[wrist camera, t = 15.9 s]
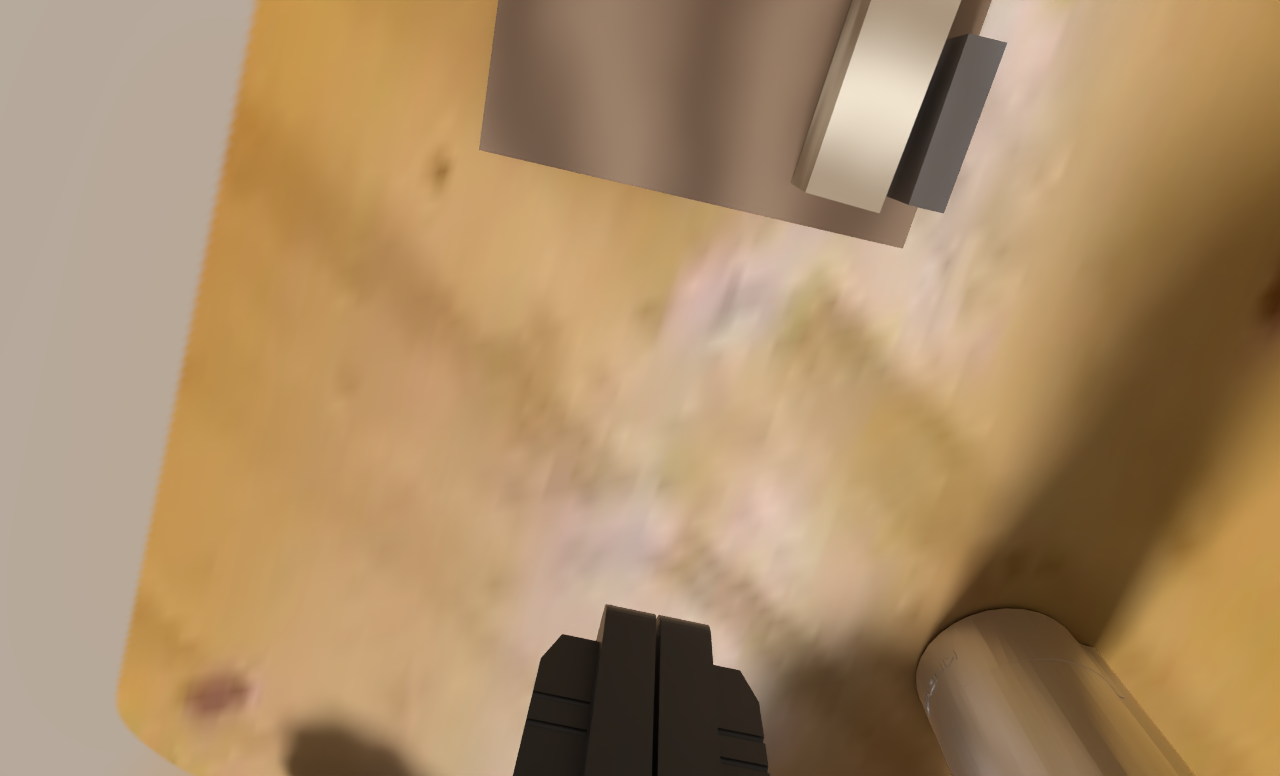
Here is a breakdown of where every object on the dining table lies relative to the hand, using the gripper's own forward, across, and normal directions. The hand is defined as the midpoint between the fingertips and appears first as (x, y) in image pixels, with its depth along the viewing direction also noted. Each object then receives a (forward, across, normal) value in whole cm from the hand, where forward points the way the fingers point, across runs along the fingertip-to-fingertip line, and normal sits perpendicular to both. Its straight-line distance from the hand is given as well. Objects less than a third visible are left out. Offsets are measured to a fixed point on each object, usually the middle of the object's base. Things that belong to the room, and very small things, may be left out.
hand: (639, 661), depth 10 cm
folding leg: (+24, -6, -13) cm, 28 cm away
